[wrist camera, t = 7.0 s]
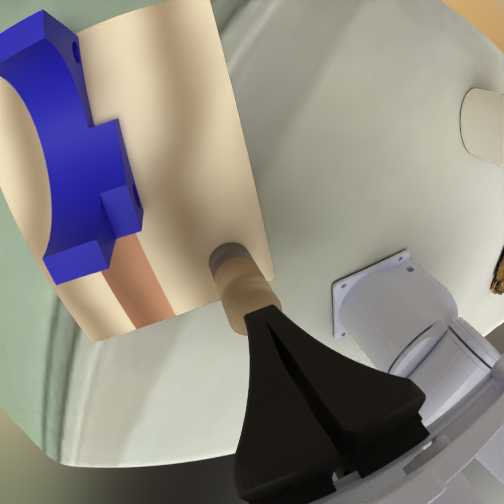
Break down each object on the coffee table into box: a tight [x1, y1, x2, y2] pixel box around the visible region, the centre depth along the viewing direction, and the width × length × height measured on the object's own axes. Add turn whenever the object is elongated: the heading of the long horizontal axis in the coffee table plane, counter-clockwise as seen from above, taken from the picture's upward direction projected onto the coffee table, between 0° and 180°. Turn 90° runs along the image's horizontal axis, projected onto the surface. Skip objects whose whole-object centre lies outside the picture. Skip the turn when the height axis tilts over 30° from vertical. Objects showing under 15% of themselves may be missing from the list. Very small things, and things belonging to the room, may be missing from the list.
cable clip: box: [0, 10, 144, 285], centre depth 11 cm, size 12×4×6 cm, turn 9°
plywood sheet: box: [0, 0, 276, 343], centre depth 16 cm, size 16×21×1 cm
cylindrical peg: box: [209, 242, 282, 336], centre depth 18 cm, size 3×3×6 cm
